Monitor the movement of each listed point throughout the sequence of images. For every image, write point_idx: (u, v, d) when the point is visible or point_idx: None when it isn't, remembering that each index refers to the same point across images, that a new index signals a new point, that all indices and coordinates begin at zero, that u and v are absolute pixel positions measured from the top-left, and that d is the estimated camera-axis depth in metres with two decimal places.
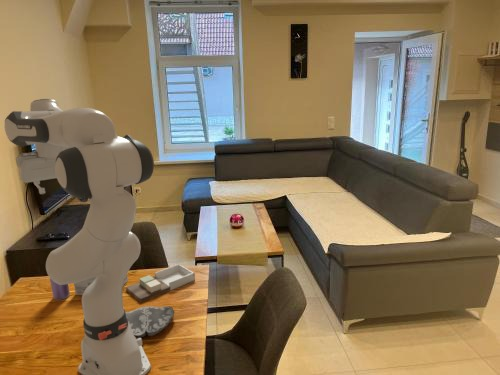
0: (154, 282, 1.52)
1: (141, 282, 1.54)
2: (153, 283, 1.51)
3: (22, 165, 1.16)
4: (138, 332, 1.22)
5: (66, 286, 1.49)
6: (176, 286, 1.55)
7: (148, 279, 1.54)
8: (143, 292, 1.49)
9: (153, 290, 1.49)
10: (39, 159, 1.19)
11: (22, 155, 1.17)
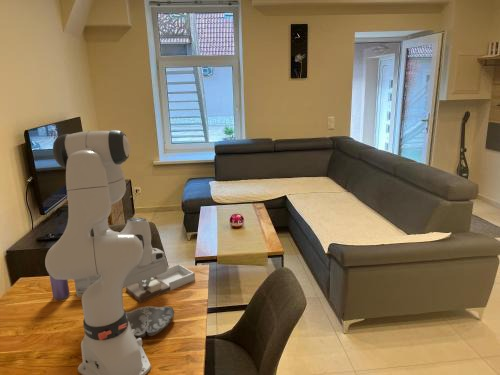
0: (154, 282, 1.52)
1: None
2: (153, 283, 1.51)
3: None
4: (138, 332, 1.22)
5: (66, 286, 1.49)
6: (176, 286, 1.55)
7: None
8: (143, 292, 1.49)
9: (153, 290, 1.49)
10: (133, 268, 1.42)
11: None
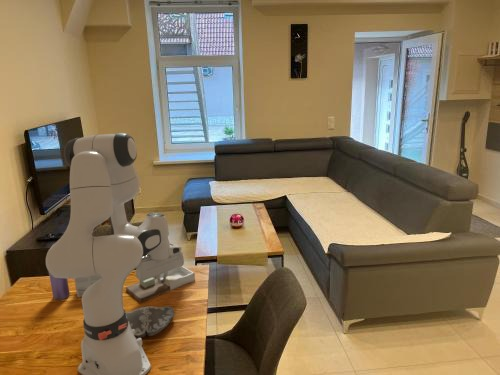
0: (171, 277, 1.57)
1: (141, 282, 1.54)
2: (170, 278, 1.56)
3: (140, 268, 1.44)
4: (138, 332, 1.22)
5: (66, 286, 1.49)
6: (176, 286, 1.55)
7: (148, 279, 1.54)
8: (143, 292, 1.49)
9: None
10: (152, 261, 1.47)
11: None
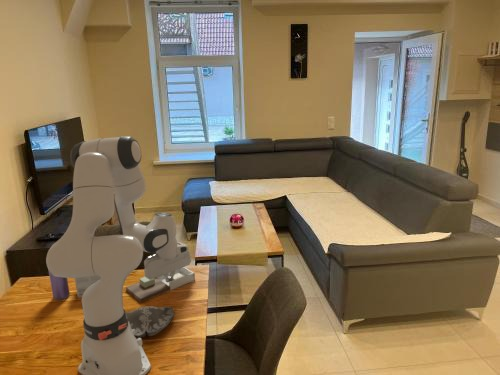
0: (178, 275, 1.59)
1: (141, 282, 1.54)
2: (177, 276, 1.58)
3: (149, 267, 1.47)
4: (138, 332, 1.22)
5: (66, 286, 1.49)
6: (176, 286, 1.55)
7: (148, 279, 1.54)
8: (143, 292, 1.49)
9: None
10: (160, 260, 1.50)
11: (148, 258, 1.47)
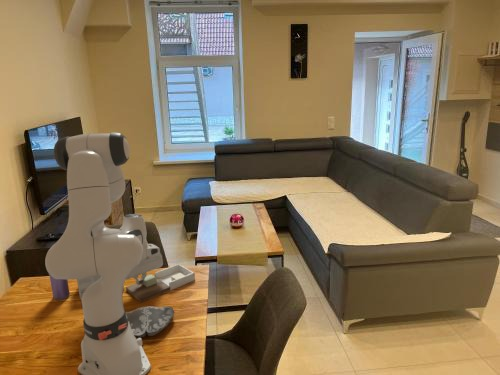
0: (179, 275, 1.60)
1: None
2: (178, 276, 1.59)
3: None
4: (138, 332, 1.22)
5: (66, 286, 1.49)
6: (176, 286, 1.55)
7: (150, 278, 1.55)
8: (143, 292, 1.49)
9: None
10: None
11: None
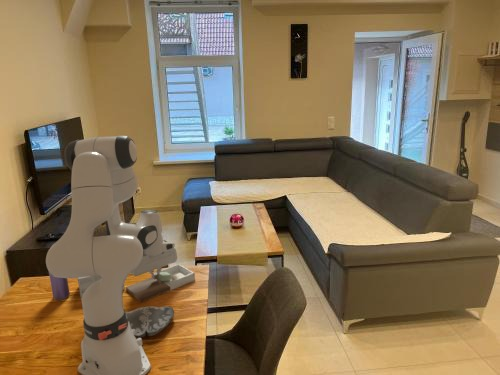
0: (179, 275, 1.60)
1: None
2: (178, 276, 1.59)
3: None
4: (138, 332, 1.22)
5: (66, 286, 1.49)
6: (176, 286, 1.55)
7: (166, 274, 1.60)
8: (143, 292, 1.49)
9: None
10: (145, 257, 1.51)
11: None
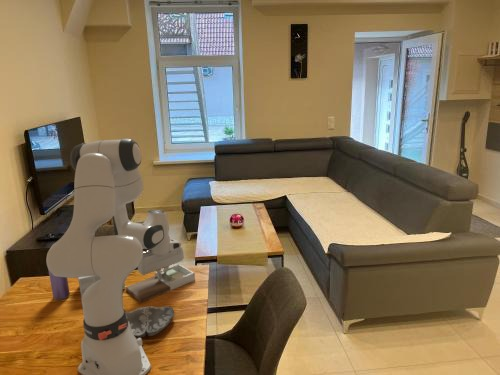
0: (179, 275, 1.60)
1: None
2: (178, 276, 1.59)
3: (142, 262, 1.51)
4: (138, 332, 1.22)
5: (66, 286, 1.49)
6: (176, 286, 1.55)
7: (172, 273, 1.62)
8: (143, 292, 1.49)
9: None
10: (153, 256, 1.54)
11: None
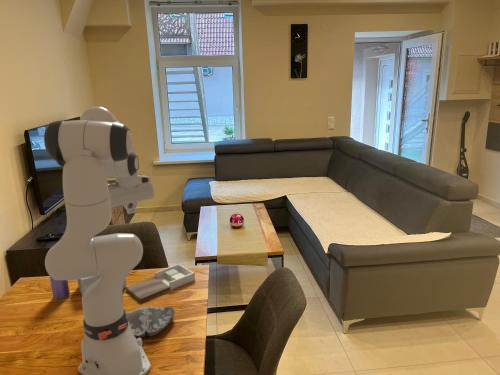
0: (179, 275, 1.60)
1: (166, 275, 1.62)
2: (178, 276, 1.59)
3: None
4: (138, 332, 1.22)
5: (66, 286, 1.49)
6: (176, 286, 1.55)
7: (173, 272, 1.62)
8: (143, 292, 1.49)
9: None
10: (119, 189, 1.46)
11: None
